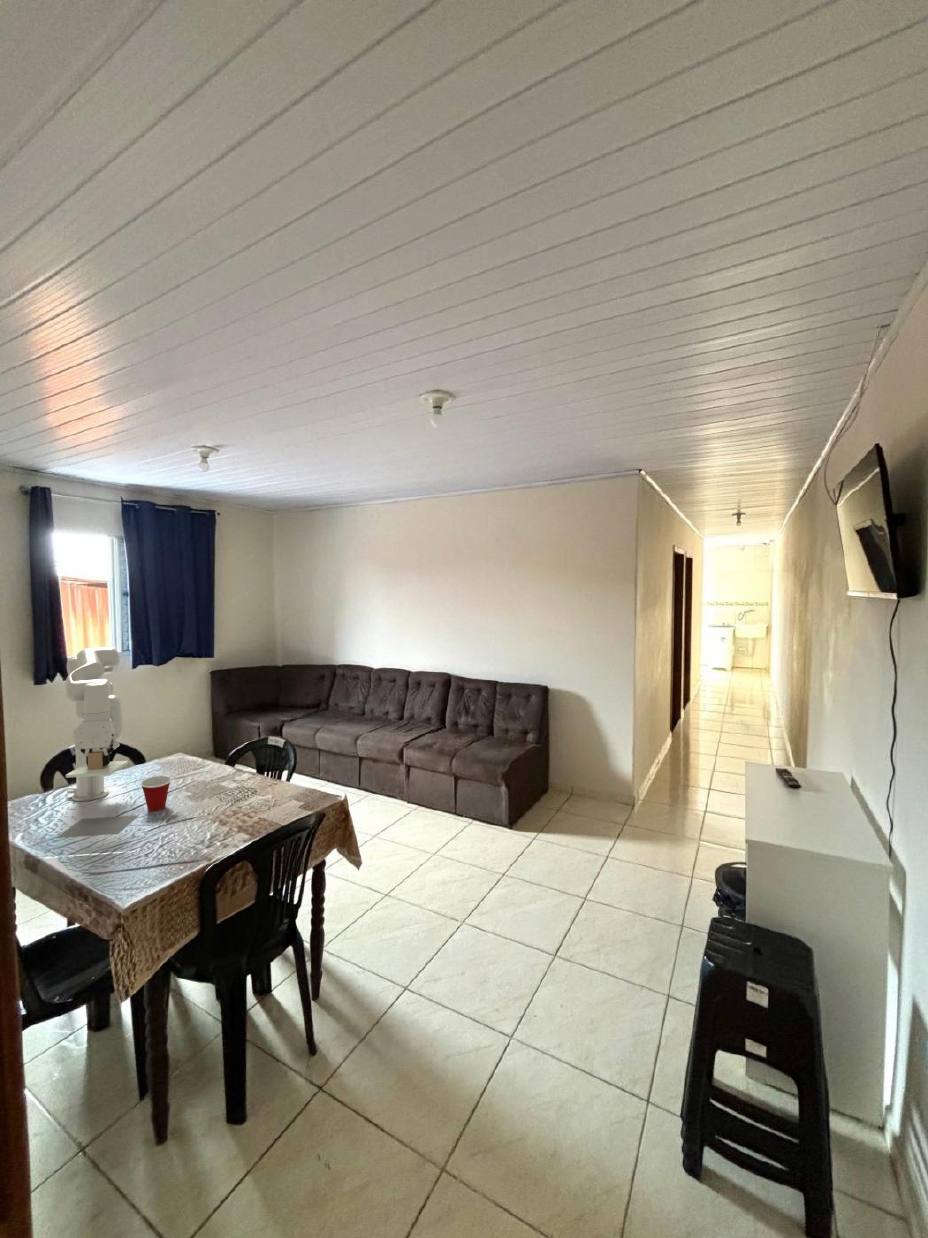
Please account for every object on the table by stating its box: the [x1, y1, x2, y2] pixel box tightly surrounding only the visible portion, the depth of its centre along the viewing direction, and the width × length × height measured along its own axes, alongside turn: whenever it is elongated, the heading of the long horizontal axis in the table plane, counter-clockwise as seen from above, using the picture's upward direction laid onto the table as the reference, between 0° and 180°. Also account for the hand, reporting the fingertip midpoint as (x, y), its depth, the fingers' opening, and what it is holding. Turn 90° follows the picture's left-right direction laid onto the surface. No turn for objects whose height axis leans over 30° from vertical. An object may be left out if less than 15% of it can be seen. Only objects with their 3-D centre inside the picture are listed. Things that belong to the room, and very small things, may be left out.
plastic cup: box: [139, 775, 172, 812], centre depth 205 cm, size 11×11×12 cm
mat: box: [55, 815, 140, 839], centre depth 189 cm, size 20×16×1 cm
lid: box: [65, 749, 129, 779], centre depth 189 cm, size 14×14×7 cm
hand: (98, 765), depth 189 cm, fingers closed on lid, 4 cm apart
